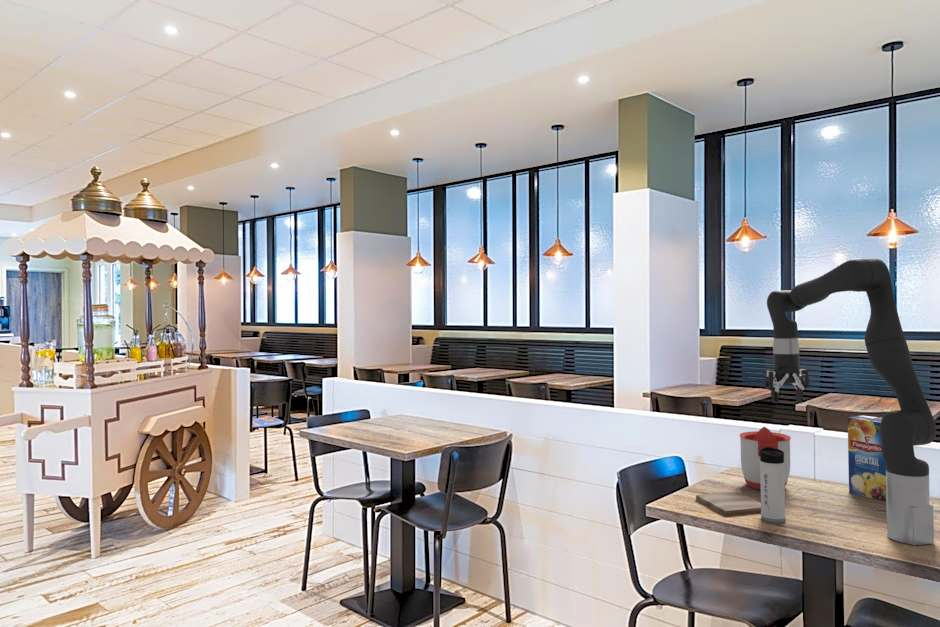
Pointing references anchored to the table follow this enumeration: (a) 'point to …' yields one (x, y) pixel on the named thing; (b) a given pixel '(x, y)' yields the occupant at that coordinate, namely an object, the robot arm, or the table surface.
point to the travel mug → (772, 485)
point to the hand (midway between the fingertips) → (787, 402)
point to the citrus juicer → (751, 453)
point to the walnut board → (730, 503)
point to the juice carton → (866, 458)
